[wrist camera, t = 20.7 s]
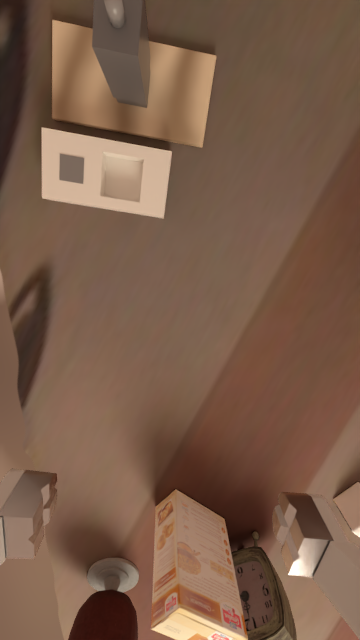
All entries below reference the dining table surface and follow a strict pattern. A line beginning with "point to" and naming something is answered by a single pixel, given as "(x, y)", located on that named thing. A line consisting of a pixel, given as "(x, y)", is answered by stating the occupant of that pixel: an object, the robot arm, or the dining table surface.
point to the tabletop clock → (262, 596)
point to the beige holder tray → (104, 173)
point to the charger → (123, 48)
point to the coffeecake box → (194, 574)
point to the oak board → (107, 113)
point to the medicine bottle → (350, 507)
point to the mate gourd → (108, 603)
